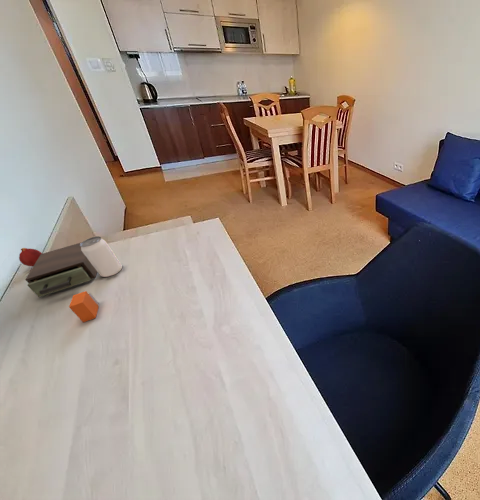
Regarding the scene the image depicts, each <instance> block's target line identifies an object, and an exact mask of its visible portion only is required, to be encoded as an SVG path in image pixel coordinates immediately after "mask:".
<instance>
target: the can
mask: <svg viewBox="0 0 480 500" xmlns="http://www.w3.org/2000/svg"><path fill="white" fill-rule="evenodd" d="M81 242H82V243H81ZM81 242H80V243H81V244H80V246H81V250H82V252H83V253H84V255H85V256H86V257H87V259H88V260H89V261H90V263H91V264H92V265H93V267H94V268H95V269H96V270H97V274H99V276H100V277H103V278H109V277H112V276H115V275H117V274H119V272H121V271H122V269H123V265H122V263H121V262H120V260H119V259H118V256H117V255H116V254H115V253H114V251H113V250H112V248H111V247H110V245H109V244H108V243H107V241H106V240H105V239H104V238H102V237H101V236H92V237H89V238H86V239H85V240H83V241H81Z"/></svg>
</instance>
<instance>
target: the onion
mask: <svg viewBox="0 0 480 500" xmlns="http://www.w3.org/2000/svg"><path fill="white" fill-rule="evenodd" d="M41 254H43V253H42V252H41V251H40V250H38V249H35V248H26V247H22V248H20V253H19V256H18V260H19V262H20V263H21V264H23V265H24V266H25V267H33V266H34V264H35V263H36V261H37V260H38V258H39V256H40V255H41Z"/></svg>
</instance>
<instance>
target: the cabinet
mask: <svg viewBox="0 0 480 500" xmlns="http://www.w3.org/2000/svg"><path fill="white" fill-rule="evenodd" d="M82 242H83V241H81V242H78V243H74V244H71V245H68V246H63V247H61V248H57V249H53V250H50V251H47V252H43V253H42V254H41V255H40V256H39V258H38V260H37V261H36V263H35V264H34V266H32V268H31V269H30V271H29V273H28V274H27V276H26V277H25V281H26V282H27V284H28V283H31V282H34V279H37V278H40V277H43V276H47V275H50V274H53V273H56V272H60V271H63V270H66V269H69V268H73V267H76V266H79V265H82V266H83V267H84V269H85V270H86V271H87V272H88V274H89V277H90V278H91V279H90V280H93V279H95V278H97V277H96V276H97V274H98V272H97V270H96V269H95V268H94V267H93V265H92V264H91V263H90V261H89V260H88V259H87V257H86V256H85V255H84V253H83V252H82V250H81V246H80V244H81V243H82Z"/></svg>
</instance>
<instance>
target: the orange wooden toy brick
mask: <svg viewBox="0 0 480 500" xmlns="http://www.w3.org/2000/svg"><path fill="white" fill-rule="evenodd" d="M99 304H100V302H98V300H97V299H96V298H95V297H94V295H93V294H92V293H91V292H90V293H89V292H88V291H87V290H84V291H82V292H79V293H75V294H73V295H72V297H71V300H70V303H69V306H68V308H69V309H70V310H71V312H73V313H74V314H75V315H76V317H77V318H78V319H79V320H80V321H81V322H82V323H85V322H89V321H91V320H93V319H96V318H97V314H98V310H99Z"/></svg>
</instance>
